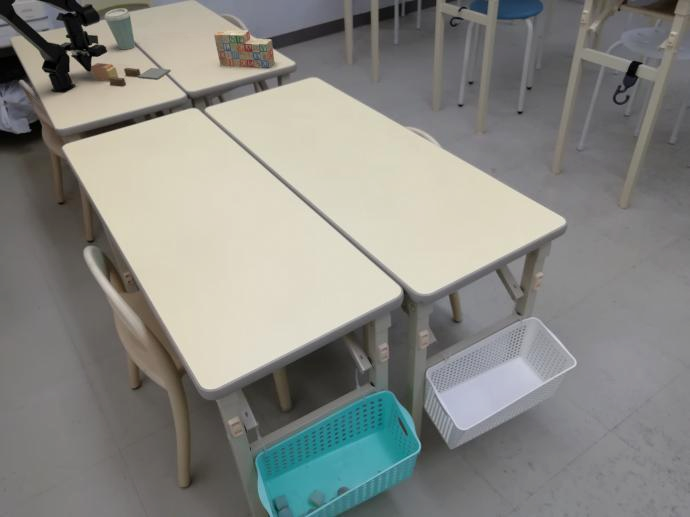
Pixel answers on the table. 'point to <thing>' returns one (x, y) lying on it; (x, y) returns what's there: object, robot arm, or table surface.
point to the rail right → (132, 72)
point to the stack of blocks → (243, 49)
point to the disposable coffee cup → (121, 27)
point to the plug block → (103, 71)
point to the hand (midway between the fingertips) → (89, 71)
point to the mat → (154, 73)
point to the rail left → (117, 81)
